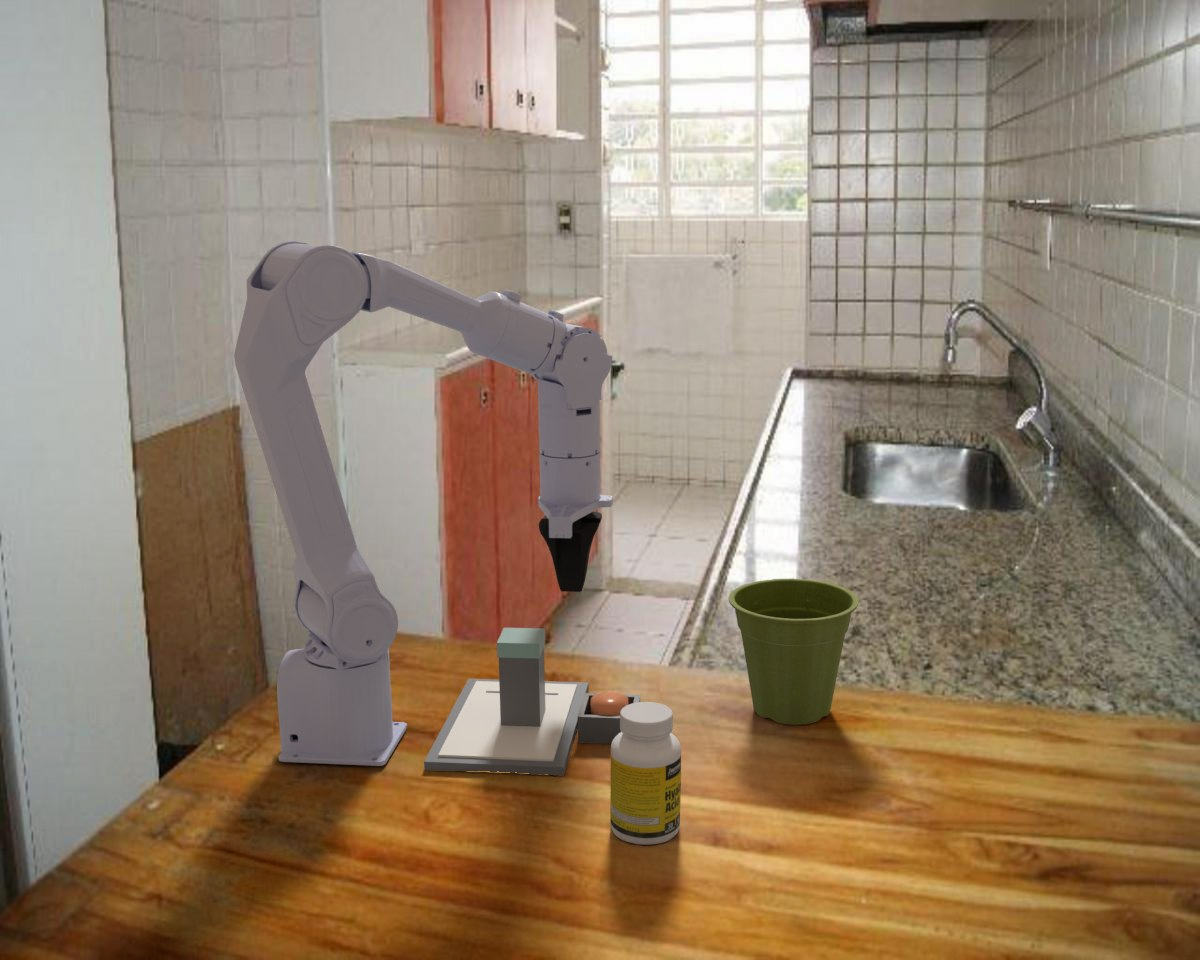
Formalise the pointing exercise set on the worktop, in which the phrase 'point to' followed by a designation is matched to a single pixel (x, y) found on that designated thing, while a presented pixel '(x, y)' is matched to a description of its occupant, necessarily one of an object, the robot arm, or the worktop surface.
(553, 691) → the sketch board
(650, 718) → the supplement bottle
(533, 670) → the block
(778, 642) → the plant pot
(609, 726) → the button housing
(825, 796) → the worktop surface
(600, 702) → the button
